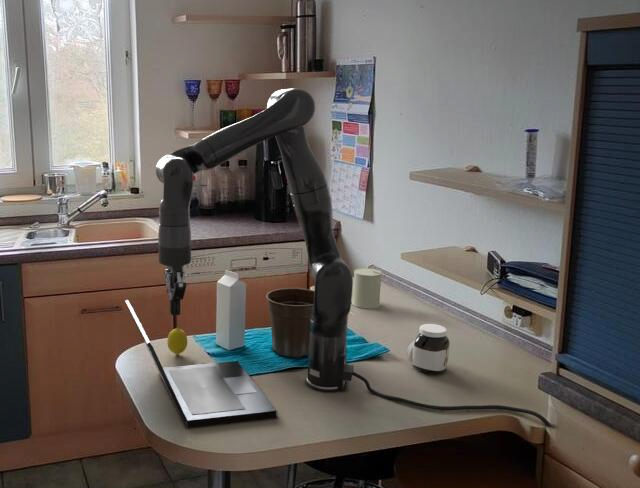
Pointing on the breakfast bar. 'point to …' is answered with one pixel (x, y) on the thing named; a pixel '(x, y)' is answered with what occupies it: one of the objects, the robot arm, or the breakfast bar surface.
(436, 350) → the spread jar
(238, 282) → the milk
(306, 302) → the plant pot
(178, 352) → the lemon
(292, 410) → the breakfast bar surface
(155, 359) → the laptop screen
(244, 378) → the laptop
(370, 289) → the can
